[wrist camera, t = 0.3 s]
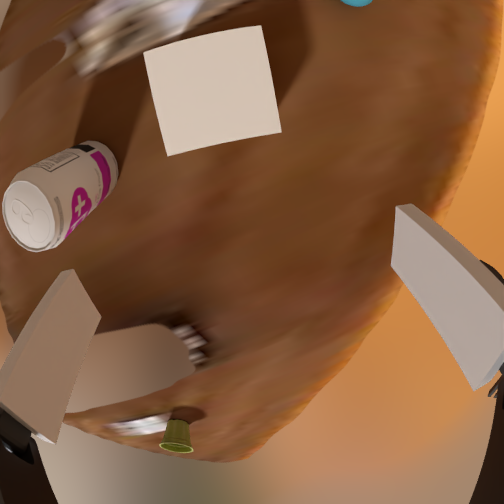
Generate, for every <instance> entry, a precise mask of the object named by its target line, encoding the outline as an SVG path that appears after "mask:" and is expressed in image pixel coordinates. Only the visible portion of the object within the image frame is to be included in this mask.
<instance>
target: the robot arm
mask: <svg viewBox="0 0 504 504" xmlns="http://www.w3.org/2000/svg"><path fill="white" fill-rule="evenodd" d="M391 267H392V268H393V269H394V270H395V272H396V273H397V274H398V276H399V277H400V278H401V280H402V281H403V282H404V284H405V285H406V286H407V288H408V289H409V290H410V292H411V293H412V294H413V296H414V297H415V299H416V300H417V301H418V303H419V304H420V306H421V307H422V308H423V310H424V311H425V313H426V314H427V316H428V317H429V319H430V320H431V322H432V323H433V325H434V326H435V327H436V329H437V331H438V332H439V333H440V335H441V337H442V338H443V340H444V341H445V343H446V345H447V346H448V348H449V349H450V351H451V353H452V354H453V356H454V358H455V359H456V361H457V363H458V364H459V366H460V368H461V370H462V371H463V373H464V375H465V376H466V378H467V380H468V382H469V384H470V386H471V387H472V389H473V391H475V390H477V389H478V388H480V387H482V386H483V385H485V384H486V383H488V382H490V381H491V379H492V378H493V377H494V375H495V374H496V373H497V371H498V370H500V372H501V373H502V376H501V377H500V378H499V380H498V381H497V382H496V383H495V385H494V386H493V387H492V388H491V389H490V391H489V394H488V397H491V395H492V394H493V393H494V392H495V391H496V389H497V388H498V391H497V393H496V394H495V396H494V398H497V399H496V406H495V413H494V419H493V424H492V430H491V435H490V439H489V443H488V448H487V451H486V455H485V459H484V462H483V466H482V469H481V472H480V475H479V478H478V481H477V484H476V487H475V490H474V492H473V495H472V498H471V500H470V503H469V504H504V279H503V278H502V276H501V275H500V274H499V273H498V272H497V271H496V270H495V269H494V268H493V267H492V266H490V265H489V264H487V263H485V262H483V261H482V260H478V259H477V258H476V257H475V256H474V255H473V254H472V253H471V252H470V251H468V249H466V248H465V247H464V246H463V245H462V244H461V243H460V242H459V241H457V240H456V239H455V238H454V237H453V236H452V235H450V234H449V233H448V232H447V231H446V230H444V229H443V228H442V227H441V226H440V225H438V224H437V223H436V222H435V221H434V220H432V219H431V218H430V217H428V216H427V215H426V214H425V213H423V212H422V211H421V210H419V209H418V208H417V207H416V206H414V205H413V204H406V205H400V206H396V215H395V229H394V241H393V251H392V260H391ZM100 319H101V316H100V314H99V312H98V311H97V309H96V308H95V306H94V304H93V303H92V301H91V299H90V298H89V296H88V294H87V293H86V291H85V289H84V287H83V286H82V284H81V282H80V280H79V278H78V277H77V275H76V273H75V271H74V269H71V270H66V271H62V272H61V273H60V274H59V276H58V277H57V278H56V280H55V281H54V283H53V284H52V285H51V287H50V288H49V290H48V291H47V293H46V294H45V295H44V297H43V298H42V300H41V301H40V303H39V304H38V306H37V307H36V309H35V310H34V312H33V314H32V315H31V317H30V318H29V320H28V322H27V323H26V325H25V327H24V328H23V330H22V332H21V333H20V335H19V337H18V338H17V340H16V342H15V344H14V346H13V347H12V349H11V351H10V353H9V355H8V357H7V359H6V361H5V362H4V364H3V366H2V369H1V370H0V504H58V502H57V500H56V497H55V495H54V493H53V490H52V488H51V485H50V483H49V480H48V478H47V475H46V472H45V469H44V466H43V463H42V460H41V457H40V454H39V450H38V447H37V444H36V441H35V440H34V439H33V438H32V437H31V433H33V434H35V435H36V436H38V437H39V438H40V439H42V440H44V441H47V442H50V443H53V444H56V442H57V439H58V435H59V432H60V428H61V424H62V421H63V418H64V414H65V411H66V407H67V405H68V402H69V399H70V396H71V393H72V390H73V386H74V384H75V381H76V378H77V375H78V373H79V370H80V367H81V365H82V362H83V359H84V357H85V355H86V352H87V349H88V347H89V345H90V342H91V340H92V337H93V335H94V333H95V330H96V328H97V326H98V324H99V321H100Z"/></svg>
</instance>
